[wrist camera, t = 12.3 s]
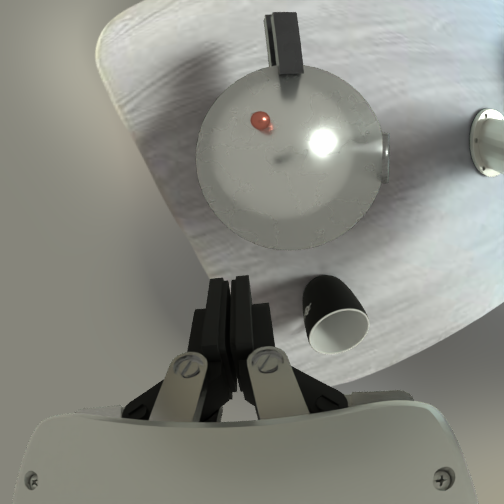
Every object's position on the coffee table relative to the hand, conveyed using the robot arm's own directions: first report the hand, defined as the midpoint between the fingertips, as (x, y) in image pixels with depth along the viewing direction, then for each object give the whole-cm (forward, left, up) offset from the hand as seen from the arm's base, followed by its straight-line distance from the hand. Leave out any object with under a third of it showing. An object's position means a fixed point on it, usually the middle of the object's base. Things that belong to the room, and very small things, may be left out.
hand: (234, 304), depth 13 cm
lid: (-6, -5, -16) cm, 18 cm away
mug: (-12, +22, -27) cm, 37 cm away
